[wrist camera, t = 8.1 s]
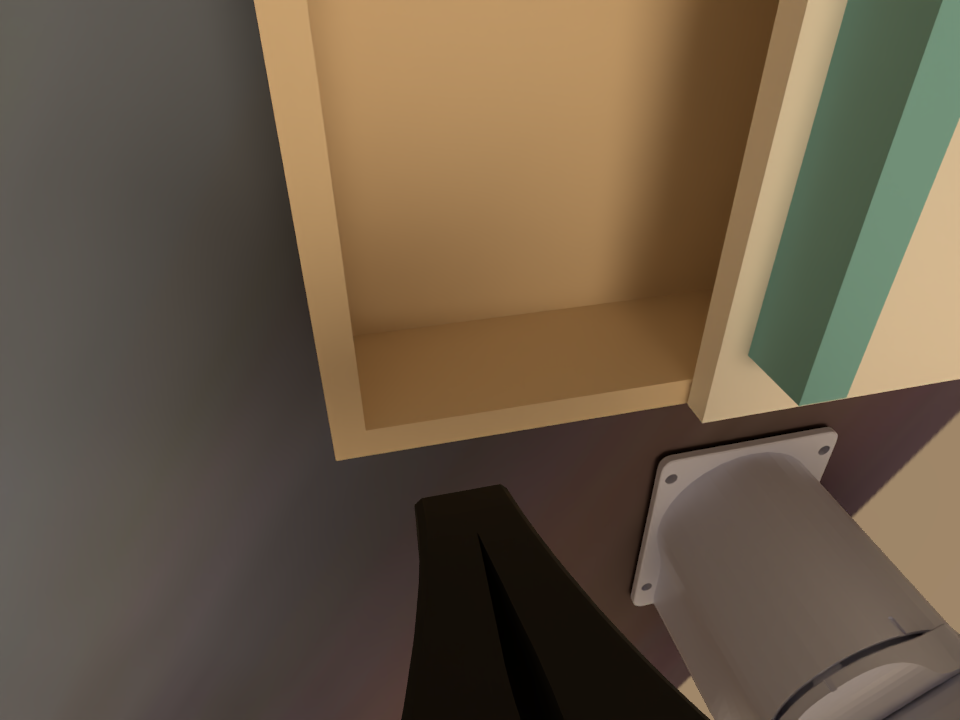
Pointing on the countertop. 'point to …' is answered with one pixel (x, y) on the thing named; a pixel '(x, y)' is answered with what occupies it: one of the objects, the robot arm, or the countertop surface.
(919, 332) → the tan board with ridge
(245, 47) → the countertop surface
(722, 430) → the countertop surface
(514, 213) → the mailer
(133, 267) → the countertop surface
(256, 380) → the countertop surface
